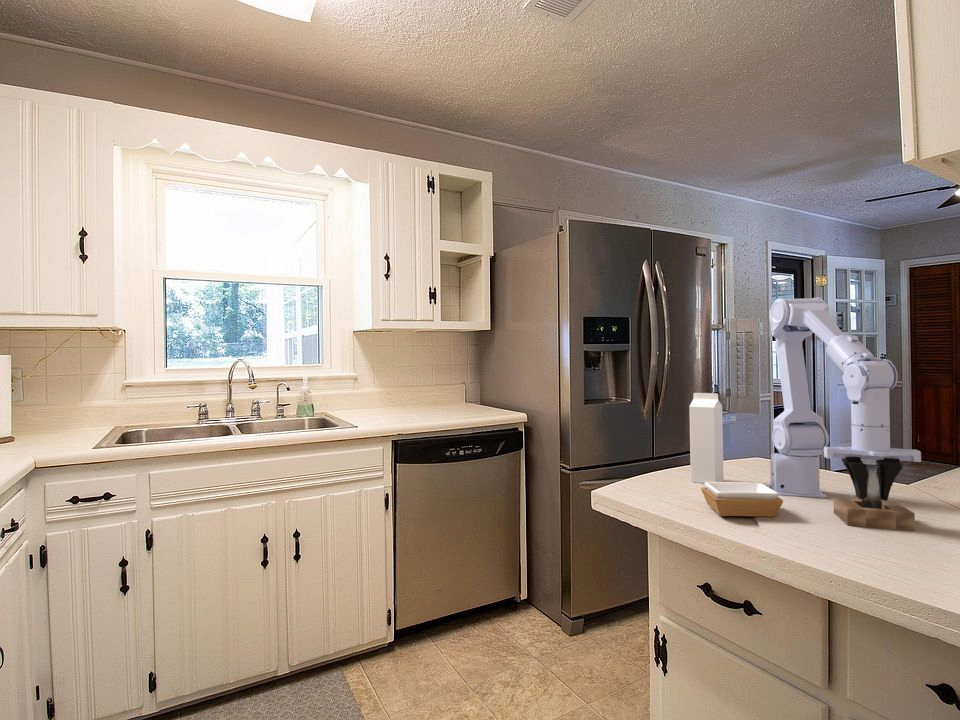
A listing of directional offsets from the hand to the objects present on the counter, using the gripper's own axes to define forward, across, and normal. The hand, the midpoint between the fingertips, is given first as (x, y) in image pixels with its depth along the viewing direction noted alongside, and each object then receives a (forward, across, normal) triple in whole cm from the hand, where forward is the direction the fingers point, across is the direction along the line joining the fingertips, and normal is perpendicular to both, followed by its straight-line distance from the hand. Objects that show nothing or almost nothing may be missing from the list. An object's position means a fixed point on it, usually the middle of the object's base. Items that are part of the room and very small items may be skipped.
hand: (871, 498), depth 96 cm
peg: (+3, 0, 0) cm, 3 cm away
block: (+4, 0, 0) cm, 4 cm away
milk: (+4, -26, +26) cm, 37 cm away
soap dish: (+5, -22, +1) cm, 22 cm away
